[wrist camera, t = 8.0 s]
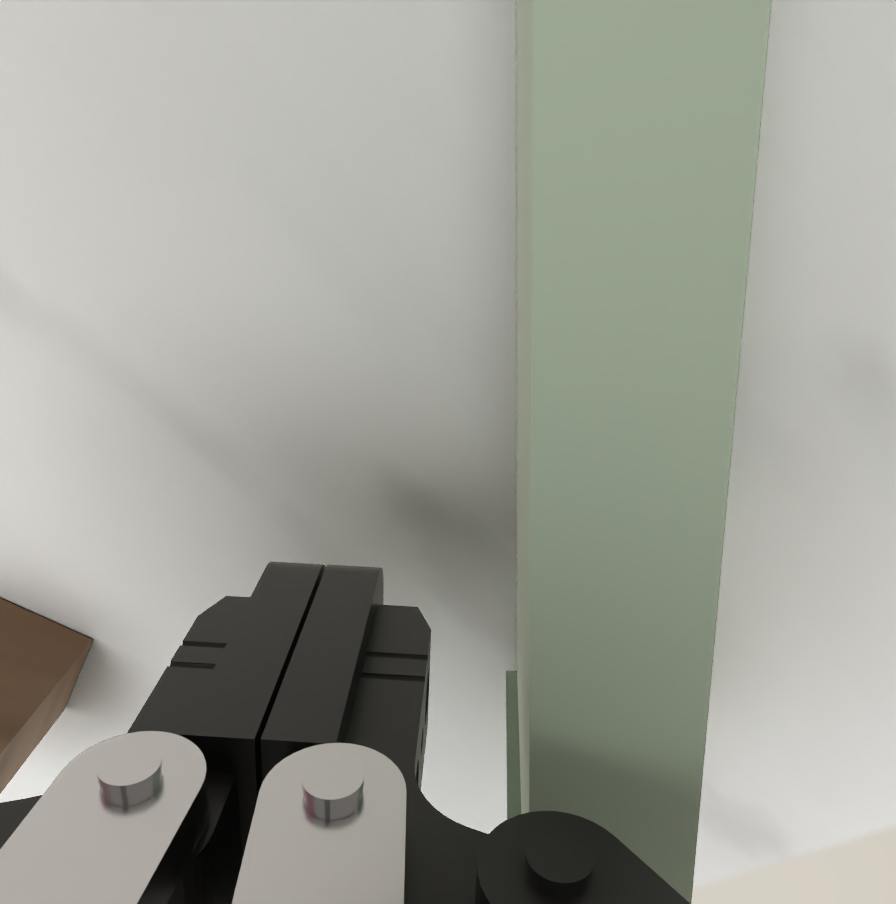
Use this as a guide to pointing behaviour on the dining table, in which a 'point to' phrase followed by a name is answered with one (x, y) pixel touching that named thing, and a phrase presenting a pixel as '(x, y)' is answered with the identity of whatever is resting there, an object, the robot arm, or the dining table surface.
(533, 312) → the panel
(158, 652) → the dining table surface
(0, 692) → the wooden pieces
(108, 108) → the dining table surface
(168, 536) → the dining table surface
